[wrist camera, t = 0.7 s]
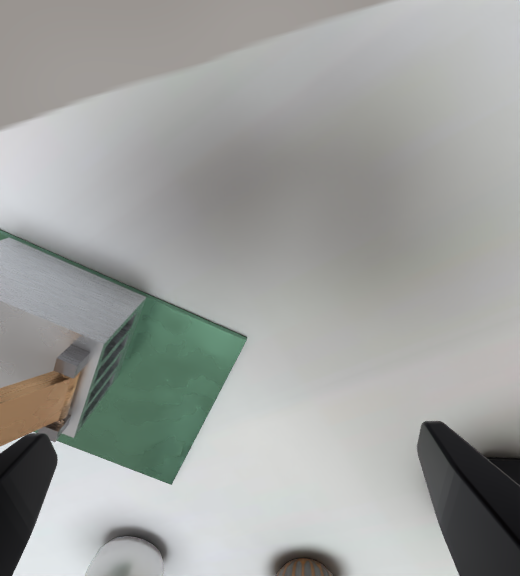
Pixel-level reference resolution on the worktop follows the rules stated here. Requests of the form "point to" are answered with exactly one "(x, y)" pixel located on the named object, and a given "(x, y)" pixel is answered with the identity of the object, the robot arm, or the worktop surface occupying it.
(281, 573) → the vase
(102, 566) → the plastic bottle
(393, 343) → the worktop surface
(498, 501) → the robot arm
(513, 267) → the worktop surface
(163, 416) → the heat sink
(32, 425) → the tan flat bar
